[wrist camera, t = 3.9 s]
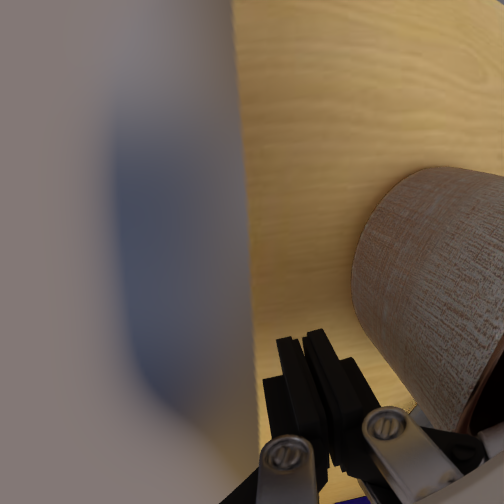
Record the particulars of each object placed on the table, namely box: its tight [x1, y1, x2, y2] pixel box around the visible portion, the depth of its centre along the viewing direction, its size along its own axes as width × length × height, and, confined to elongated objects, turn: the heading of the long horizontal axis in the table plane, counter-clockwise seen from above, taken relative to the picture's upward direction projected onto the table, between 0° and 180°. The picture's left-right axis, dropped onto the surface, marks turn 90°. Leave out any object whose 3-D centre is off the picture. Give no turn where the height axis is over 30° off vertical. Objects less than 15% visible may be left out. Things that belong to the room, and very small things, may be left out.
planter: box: [351, 167, 504, 436], centre depth 10 cm, size 11×11×10 cm
